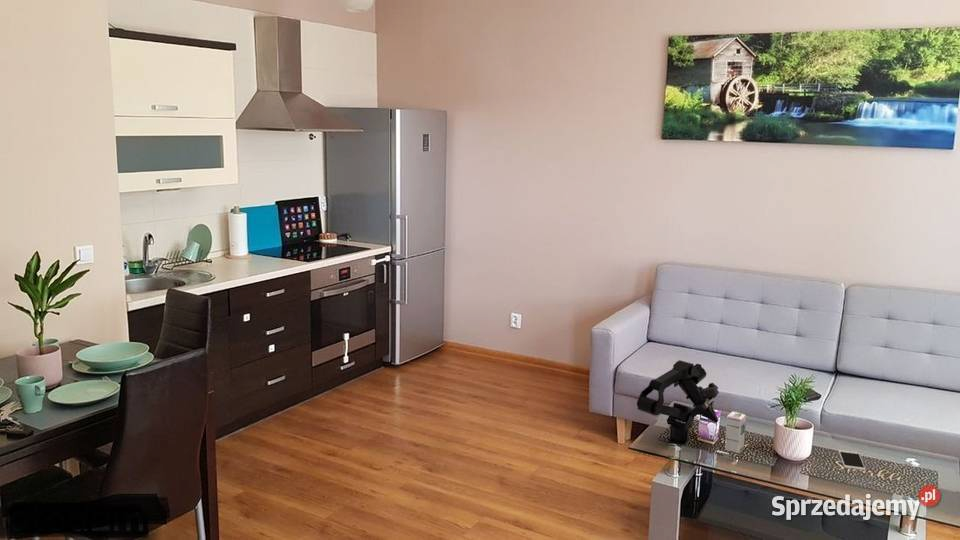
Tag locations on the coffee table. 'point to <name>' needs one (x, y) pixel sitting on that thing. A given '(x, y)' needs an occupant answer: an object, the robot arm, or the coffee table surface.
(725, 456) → the traps
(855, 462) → the smartphone
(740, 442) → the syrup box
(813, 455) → the coffee table surface
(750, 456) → the coffee table surface
